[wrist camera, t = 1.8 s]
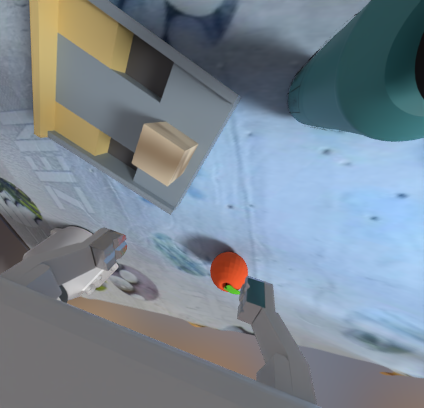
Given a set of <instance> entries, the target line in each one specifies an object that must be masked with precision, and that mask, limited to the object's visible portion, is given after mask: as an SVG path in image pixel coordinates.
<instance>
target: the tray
mask: <svg viewBox="0 0 424 408" xmlns="http://www.w3.org/2000/svg"><path fill="white" fill-rule="evenodd" d="M29 2H30V30H31V57H32V85H33V113H34V134H35V135H37V136H38V137H40V138H43V137H48V138H50V139H52V140H53V141H55V142H56V143H58V144H60V145H61V146H63V147H64V148H66V149H67V150H69V151H71V152H72V153H74V154H75V155H77V156H78V157H80V158H82V159H83V160H85V161H86V162H88V163H90V164H91V165H93V166H94V167H96V168H97V169H99V170H101V171H102V172H104V173H105V174H107V175H108V176H110V177H112V178H113V179H115V180H116V181H118V182H120V183H121V184H123V185H124V186H126V187H127V188H129V189H131V190H132V191H134V192H135V193H137V194H138V195H140V196H142V197H143V198H145V199H146V200H148V201H150V202H151V203H153V204H154V205H156V206H157V207H159V208H161V209H162V210H164V211H165V212H167V213H169V214H170V215H171V213H172V212H173V211H174V210H175V209H176V207H177V206H178V205H179V204H180V202H181V201H182V199H183V197H184V196H185V194H186V192H187V190H188V189H189V187H190V185H191V183H192V182H193V180H194V178H195V177H196V175H197V173H198V171H199V170H200V168H201V166H202V165H203V163H204V161H205V159H206V158H207V156H208V154H209V153H210V151H211V149H212V147H213V146H214V144H215V142H216V141H217V139H218V137H219V135H220V134H221V132H222V130H223V128H224V127H225V125H226V123H227V122H228V120H229V118H230V116H231V115H232V113H233V111H234V110H235V108H236V106H237V104H238V103H239V101H240V99H241V97H240V96H239V95H238V94H236V93H235V92H233V91H232V90H231V89H229V88H228V87H227V86H225V85H224V84H222V83H221V82H220V81H218V80H217V79H216V78H214V77H213V76H211V75H210V74H209V73H207V72H206V71H204V70H203V69H202V68H200V67H199V66H198V65H196V64H195V63H193V62H192V61H191V60H189V59H188V58H187V57H185V56H184V55H182V54H181V53H180V52H178V51H177V50H176V49H174V48H173V47H171V46H170V45H169V44H167V43H166V42H165V41H163V40H162V39H160V38H159V37H158V36H156V35H155V34H153V33H152V32H151V31H149V30H148V29H147V28H145V27H144V26H142V25H141V24H140V23H138V22H137V21H136V20H134V19H133V18H131V17H130V16H129V15H127V14H126V13H125V12H123V11H122V10H120V9H119V8H118V7H116V6H115V5H114V4H112V3H111V2H109V1H108V0H29ZM155 122H167V123H169V124H170V125H172V126H173V127H175V128H176V129H178V130H179V131H181V132H182V133H184V134H185V135H186V136H188V137H189V138H191V139H192V140H194V141H195V142H197V143H198V146H197V148H196V150H195V152H194V153H193V155H192V157H191V159H190V161H189V163H188V165H187V167H186V169H185V170H184V172H183V174H182V175H181V176H180V177H178V178H177V179H176V180H175V181H174V182H172V183H171V184H170V185H169V186H166V185H164V184H163V183H161V182H160V181H158V180H156V179H155V178H153V177H152V176H150V175H149V174H147V173H146V172H144V171H143V170H141V169H139V168H138V167H136V166H135V165H133V164H132V160H133V156H134V153H135V150H136V147H137V144H138V141H139V138H140V134H141V131H142V128H143V125H144V124H145V123H155Z"/></svg>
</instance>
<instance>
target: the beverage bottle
mask: <svg viewBox="0 0 424 408" xmlns="http://www.w3.org/2000/svg"><path fill="white" fill-rule="evenodd" d="M354 16H355V15H354ZM354 16H353V17H354ZM349 20H350V19H349ZM336 31H337V30H336ZM330 38H331V37H330ZM326 43H327V42H326ZM319 50H320V49H319ZM319 50H318V51H319ZM318 51H317V52H318ZM317 52H315V53H314V55H315V54H316V53H317ZM314 55H313V56H314ZM313 56H312V57H311V58H312V59H311V58H310V59H309V60H311V61H310V62H309V63H308V61H309V60H308V61H307V63H308V64H307V65H305V67H304V66H303V67H304V68H303V67H301V70H300V71H299V72H298V73H297V74H296V75H297V76H296V77H294V78H295V79H293V80H294V81H293V80H292V82H293V83H292V82H291V83H292V84H291V87H290V86H289V87H290V91H289V93H288V94H289V96H288V105H289V106H288V105H287V106H288V107H289V109H290V113H291V114H292V115H293V117H294V118H295V119H296V120H297V121H299V122H301V123H303V124H306V125H311V126H316V127H318V128H319V127H322V129H321V130H323V129H324V128H327V129H336V130H341V131H346V132H351V133H356V134H361V135H364V136H367V137H369V138H372V139H377V140H382V141H391V142H396V141H409V140H416V139H420V138H424V0H371V1H370V2H369V3H368V4H367V5H366V6H365V7H364V8H363V9H362V10H361V11H360V12H358V14H356V16H355V17H354V18H353V19H352V20H351V21H350V22H349V23H348V24H347V25H346V26H345V27H344V28H343V29H342V30H341V31H339V32H338V33H337V34H336V35H334V37H333V38H332V39H331V40H330V41H329V42H328V43H327V44H326V45H325V46H324V47H323V48H322V49H321V50H320V51H319V52H318V53H317V54H316V55H315V56H314V57H313ZM305 64H306V63H305ZM302 68H303V69H302ZM288 94H287V95H288ZM309 127H310V126H309ZM316 127H314V128H316Z"/></svg>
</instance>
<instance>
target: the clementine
mask: <svg viewBox="0 0 424 408" xmlns="http://www.w3.org/2000/svg"><path fill="white" fill-rule="evenodd" d="M210 273H211V278H212V280H213V282H214V284H215V285H216V286H217V287H218V288H219V289H221V290H223V291H226V292H230V293H232V294H240V292H239V291H238V290H239V289H240V288H241V287H242V285H243V284H244V283H245V278H246V277H247V276H248V269H247V265H246V263H245V261H244V260H243V258H241V257H240V256H239V255H238V254H236V253H233V252H224V253H221V254H219V255H218V256H217V257H216V258H215V259H214V260H213V262H212V264H211V270H210Z"/></svg>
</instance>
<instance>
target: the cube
mask: <svg viewBox="0 0 424 408" xmlns="http://www.w3.org/2000/svg"><path fill="white" fill-rule="evenodd" d="M197 146H198V143H197V142H195V141H194V140H192V139H191V138H189V137H188V136H186V135H185V134H184V133H182V132H181V131H179V130H178V129H176V128H175V127H173V126H172V125H170V124H169V123H167V122H155V123H145V124H144V125H143V128H142V131H141V134H140V138H139V141H138V144H137V147H136V150H135V153H134V156H133V160H132V164H133V165H135V166H136V167H138V168H139V169H141V170H143V171H144V172H146V173H147V174H149V175H150V176H152V177H153V178H155V179H156V180H158V181H160V182H161V183H163V184H164V185H166V186H169V185H170V184H171V183H172V182H174V181H175V180H176V179H177V178H178V177H180V176H181V175H182V174H183V172H184V170H185V169H186V167H187V165H188V163H189V161H190V159H191V157H192V155H193V153H194V152H195V150H196V148H197Z"/></svg>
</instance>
